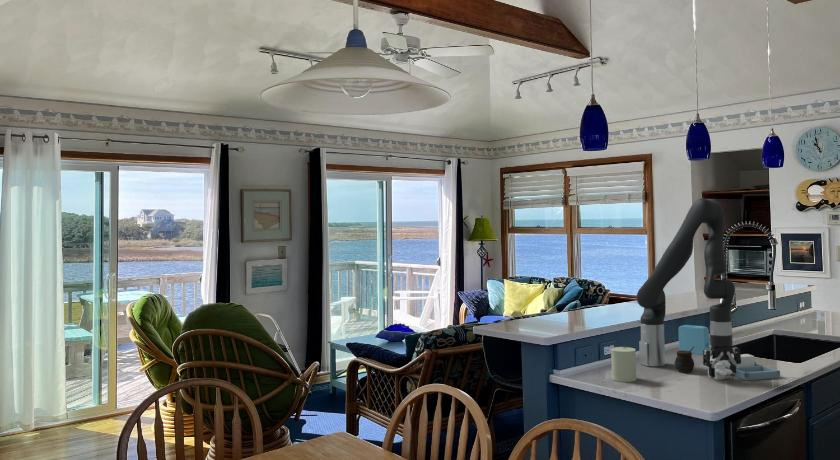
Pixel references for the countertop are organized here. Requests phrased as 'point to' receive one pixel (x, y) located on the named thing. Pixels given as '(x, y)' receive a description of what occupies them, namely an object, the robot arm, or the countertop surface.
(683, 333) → the light blue square block
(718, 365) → the power adapter
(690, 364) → the mate gourd
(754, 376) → the dock
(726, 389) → the countertop surface
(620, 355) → the can
